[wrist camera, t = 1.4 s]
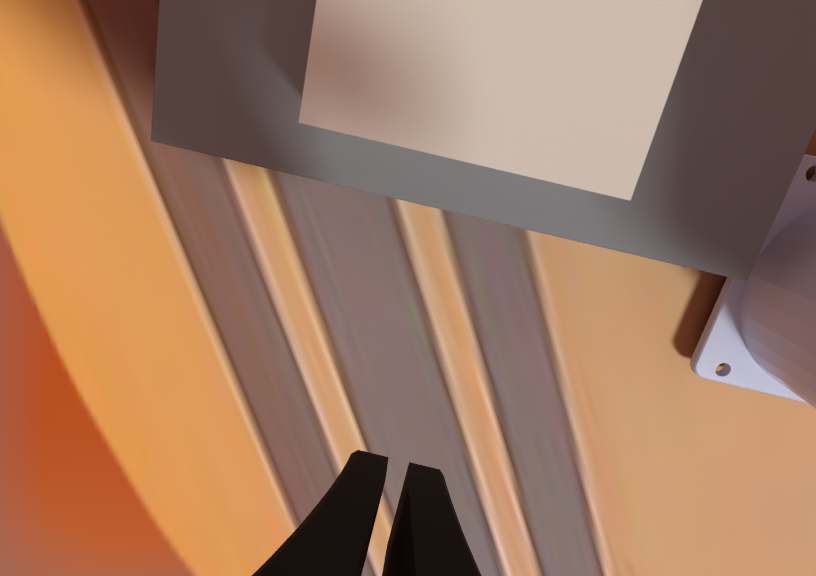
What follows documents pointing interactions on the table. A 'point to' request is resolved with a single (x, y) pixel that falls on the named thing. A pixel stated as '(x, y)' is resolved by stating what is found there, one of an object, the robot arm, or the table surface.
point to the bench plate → (508, 192)
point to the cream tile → (502, 81)
